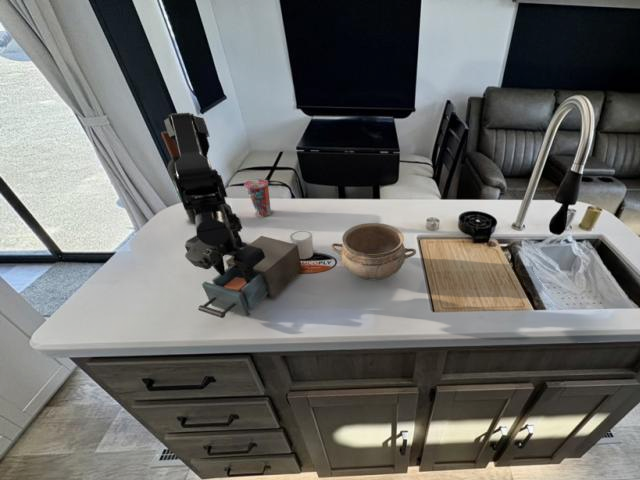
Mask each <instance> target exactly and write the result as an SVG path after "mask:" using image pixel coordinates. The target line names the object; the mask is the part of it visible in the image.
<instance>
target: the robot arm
mask: <svg viewBox="0 0 640 480" xmlns="http://www.w3.org/2000/svg"><path fill="white" fill-rule="evenodd" d="M167 117H168V118H166V119H164V120H163V122H164V124H165V128H166V131H168V133H169V136H170V138H171V139H172V140H175V143H176V145H177V148H178V150H179V153H180V158H179V159H178V160H177V161H176V162H175V169H176V174H174V179H175V182H176V185H177V188H178V191H179V194H180V196H179V198H180V197H181V199H180V201H181V200H182V201H181V204H182V206H183V209H184V211H186V210H189V209H194V212H195V214H196V216H195V221H196V224H195V231H196V232H195V234H196V235H194V236H192V237H191V238H189V239H187V240H186V241H185V244H184V248H185V250H186V253H185V255H184V258H185V259H186V260H187V261H188V262H190V263H191V264H192V265H193V266H194V267H196V268H202V269H203V270H210V269H211V268H213V269H214V270H215V271H216V272H217V273H218V275H219V274H220V275H224V274H225V270H226V268H225V262H224V261H225V260H224V256H226V255H227V256H230V257H232V256H234V259H233V261H234V263H235V264H236V265H235V266H234V267H235V268H238V269H240V271H241V274H242V276H243V278H244V280H245V281H246V283H249V282H250V280H251V276H252V272H253V268H254V266H255V265H257V264H258V263H259V262H260V261H262V260H263V259H264V258H265V254H264V251H263V249H261V248H257V247H254V246H250V245H249V244H247V243H246V242H243V240H242V237H241V235H240V233H239V232H242V230H243V225H242V222H241V219H240V217H239V216H238V215H237V214H236V213H233V209H232V207H231V205H230V204H228V203H227V201H226V198H228V194H227V191H226V187H225V185H224V181H223V178H222V174H221V173H219V172H218V170H217V169H216V168H215V169H214V168H212V165H211V162H210V160H209V157H208V153H209V150H210V142H209V139H208V138H210V137H211V136H210V132H209V130H208V127H207V124H206V121H205V118H204V117H201V116H198V115H195V114H194V113H191V112H177V113H176V112H175V113H170V114H168V115H167ZM184 192H185V193H184ZM179 194H178V195H179ZM185 194H186V196H187V197H193V196H196V197H195V198H194V199H188V202H187V201H186V197H185Z"/></svg>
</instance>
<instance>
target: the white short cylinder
mask: <svg viewBox="0 0 640 480" xmlns="http://www.w3.org/2000/svg"><path fill="white" fill-rule="evenodd" d="M289 239H290V243H292V244H296V245H298V250H299V255H300V260H307V259H310V258H312V257H313V256H314V241H313V239H314V238H313V234H312V232H310V231H308V230H297V231H294V232H292V233H291V234H290V235H289Z"/></svg>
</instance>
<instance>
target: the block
mask: <svg viewBox="0 0 640 480" xmlns="http://www.w3.org/2000/svg"><path fill="white" fill-rule="evenodd" d="M246 284H248V283H246V281H245V280H244V279H243V278H239V277H235V278H234V279H233V280H231V281H230V282H229V283H227V284H226V285H225V286H224V287H225V288H228V289H231V290H234V291H238V292H241V293H242V294H243V292H242V288H243V287H244V286H245V285H246ZM243 297H244V295H243ZM244 299H245V297H244ZM245 301H246V300H245Z"/></svg>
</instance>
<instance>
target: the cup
mask: <svg viewBox="0 0 640 480" xmlns="http://www.w3.org/2000/svg"><path fill="white" fill-rule="evenodd" d="M243 187H245V189H246V192H247V194H248V196H249V198H250V201H251V204H252V205H253V208H254V210H255V212H256V215H257V216H258V217H267V216H270V215H271V214H272V209H271V199H270V190H269V180H267V179H264V178H254V179H250V180H247V181H245V182H244V183H243Z"/></svg>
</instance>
